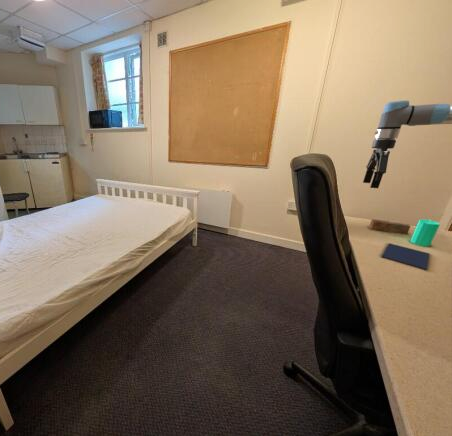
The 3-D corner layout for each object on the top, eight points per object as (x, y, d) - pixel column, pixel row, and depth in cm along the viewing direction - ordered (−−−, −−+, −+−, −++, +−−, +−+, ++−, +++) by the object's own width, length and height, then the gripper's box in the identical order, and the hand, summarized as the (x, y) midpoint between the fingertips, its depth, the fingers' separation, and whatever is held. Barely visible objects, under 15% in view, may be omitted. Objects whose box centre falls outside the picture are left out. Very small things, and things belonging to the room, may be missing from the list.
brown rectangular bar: (404, 231, 112) (408, 223, 110) (407, 234, 109) (411, 226, 107) (368, 226, 119) (371, 219, 117) (370, 229, 115) (373, 221, 114)
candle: (411, 239, 104) (421, 215, 100) (430, 243, 100) (442, 219, 95) (409, 242, 101) (420, 218, 96) (429, 247, 96) (441, 222, 92)
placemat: (388, 244, 100) (389, 243, 99) (428, 254, 91) (429, 253, 91) (381, 257, 89) (381, 256, 89) (426, 270, 80) (426, 269, 80)
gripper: (367, 139, 112) (354, 180, 119) (382, 139, 92) (366, 189, 99) (386, 139, 108) (372, 181, 116) (407, 139, 88) (389, 191, 95)
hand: (370, 185), depth 107 cm, fingers open, 13 cm apart
